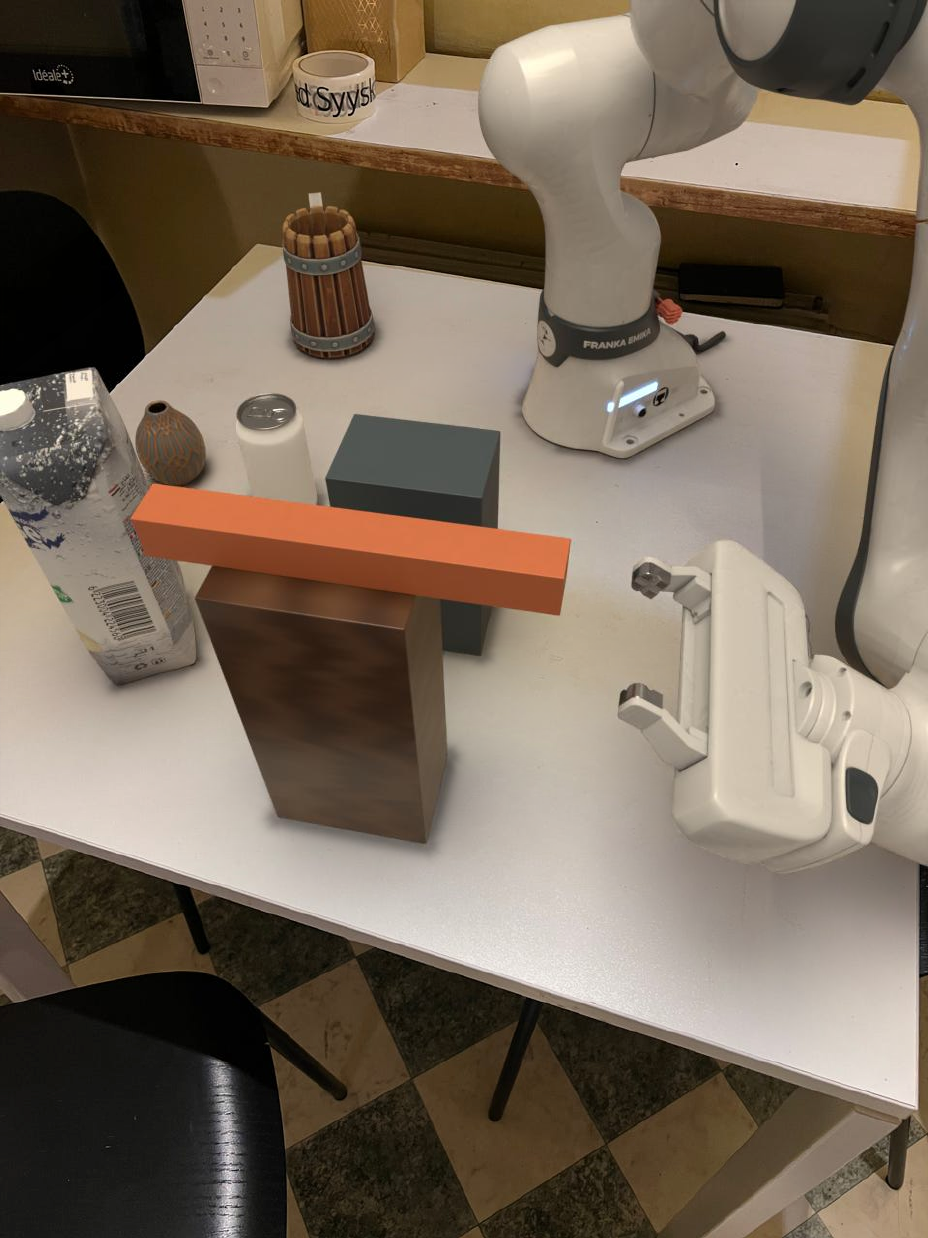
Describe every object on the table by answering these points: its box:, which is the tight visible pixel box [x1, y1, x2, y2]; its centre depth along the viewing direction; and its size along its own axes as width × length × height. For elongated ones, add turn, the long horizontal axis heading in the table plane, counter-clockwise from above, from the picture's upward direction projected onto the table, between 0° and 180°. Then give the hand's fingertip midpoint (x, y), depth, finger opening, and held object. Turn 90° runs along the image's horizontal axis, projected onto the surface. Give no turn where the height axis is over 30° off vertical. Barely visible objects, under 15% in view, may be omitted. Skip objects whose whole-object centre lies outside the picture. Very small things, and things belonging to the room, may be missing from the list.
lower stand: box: [324, 413, 501, 657], centre depth 74 cm, size 12×8×19 cm, turn 79°
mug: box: [281, 192, 375, 359], centre depth 107 cm, size 16×11×15 cm
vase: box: [134, 399, 207, 487], centre depth 91 cm, size 7×7×9 cm
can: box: [235, 392, 318, 505], centre depth 86 cm, size 6×6×12 cm
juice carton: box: [0, 366, 197, 685], centre depth 69 cm, size 9×10×27 cm
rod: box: [131, 483, 572, 617], centre depth 48 cm, size 24×3×3 cm, turn 79°
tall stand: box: [194, 566, 448, 844], centre depth 59 cm, size 12×8×26 cm, turn 79°
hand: (631, 630), depth 49 cm, fingers open, 8 cm apart
